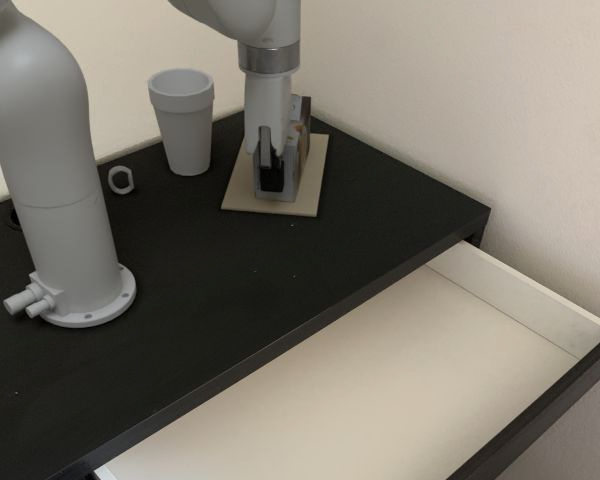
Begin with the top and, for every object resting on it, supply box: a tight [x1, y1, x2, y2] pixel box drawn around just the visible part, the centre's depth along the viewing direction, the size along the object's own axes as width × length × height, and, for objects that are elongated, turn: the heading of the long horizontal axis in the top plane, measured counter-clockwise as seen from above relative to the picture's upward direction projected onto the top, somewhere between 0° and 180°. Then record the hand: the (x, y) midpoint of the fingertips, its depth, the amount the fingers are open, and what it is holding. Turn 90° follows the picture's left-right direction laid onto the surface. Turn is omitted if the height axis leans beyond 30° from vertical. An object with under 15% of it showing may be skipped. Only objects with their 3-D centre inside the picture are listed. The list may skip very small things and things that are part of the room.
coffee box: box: [253, 93, 312, 202], centre depth 100 cm, size 9×6×16 cm
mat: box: [220, 132, 330, 218], centre depth 104 cm, size 24×14×1 cm, turn 174°
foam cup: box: [146, 67, 216, 177], centre depth 100 cm, size 10×9×13 cm
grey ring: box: [107, 165, 135, 195], centre depth 98 cm, size 4×2×4 cm, turn 105°
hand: (272, 188), depth 93 cm, fingers closed
